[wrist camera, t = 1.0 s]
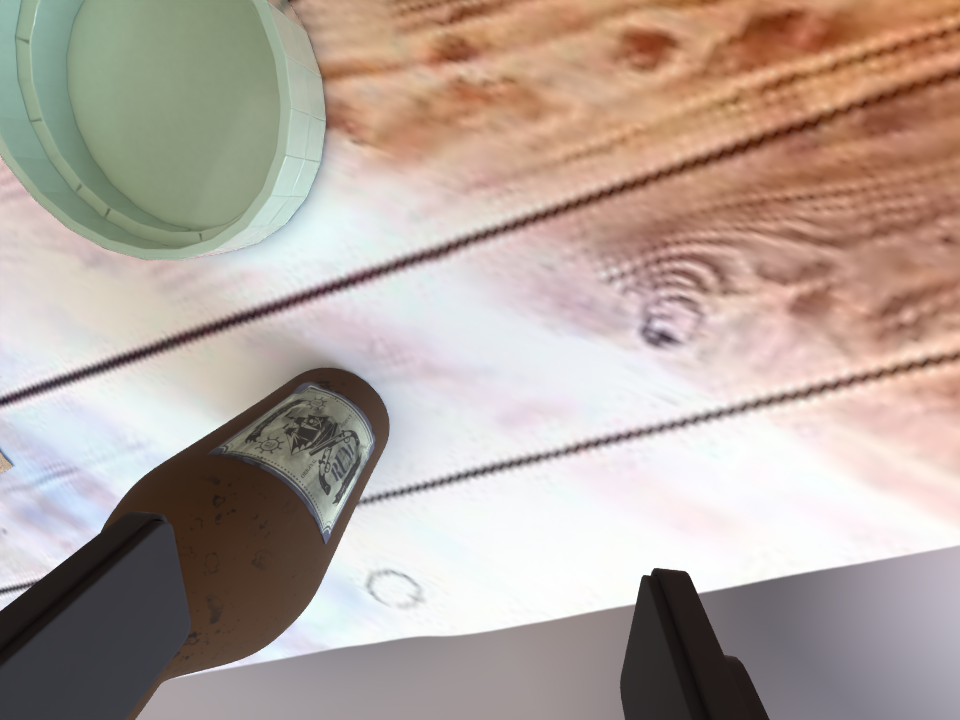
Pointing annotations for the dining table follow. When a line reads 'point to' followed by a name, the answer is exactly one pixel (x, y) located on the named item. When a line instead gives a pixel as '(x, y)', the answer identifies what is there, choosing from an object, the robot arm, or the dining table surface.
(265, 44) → the bowl
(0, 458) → the condiment
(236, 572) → the olive oil
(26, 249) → the dining table surface
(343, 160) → the dining table surface
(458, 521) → the dining table surface
